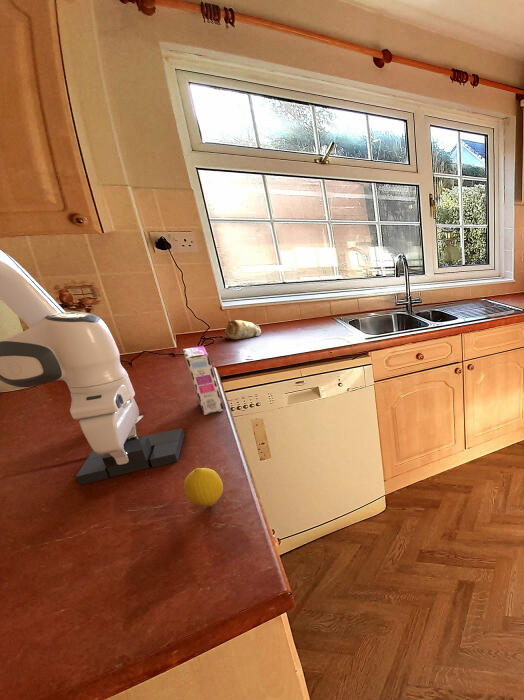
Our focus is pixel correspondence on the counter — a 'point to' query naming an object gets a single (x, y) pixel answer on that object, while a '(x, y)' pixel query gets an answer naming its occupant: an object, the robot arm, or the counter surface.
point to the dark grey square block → (131, 458)
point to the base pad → (163, 453)
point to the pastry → (241, 330)
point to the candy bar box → (203, 380)
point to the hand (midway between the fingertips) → (128, 452)
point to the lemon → (203, 487)
